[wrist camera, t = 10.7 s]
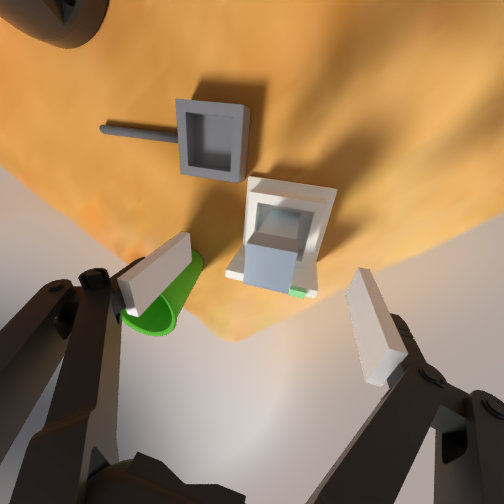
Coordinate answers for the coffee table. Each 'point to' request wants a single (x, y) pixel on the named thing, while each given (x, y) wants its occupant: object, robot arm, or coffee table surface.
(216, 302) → the coffee table surface
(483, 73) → the coffee table surface
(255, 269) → the plug
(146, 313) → the cup
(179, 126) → the grey square socket
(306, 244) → the tray
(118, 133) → the cord
